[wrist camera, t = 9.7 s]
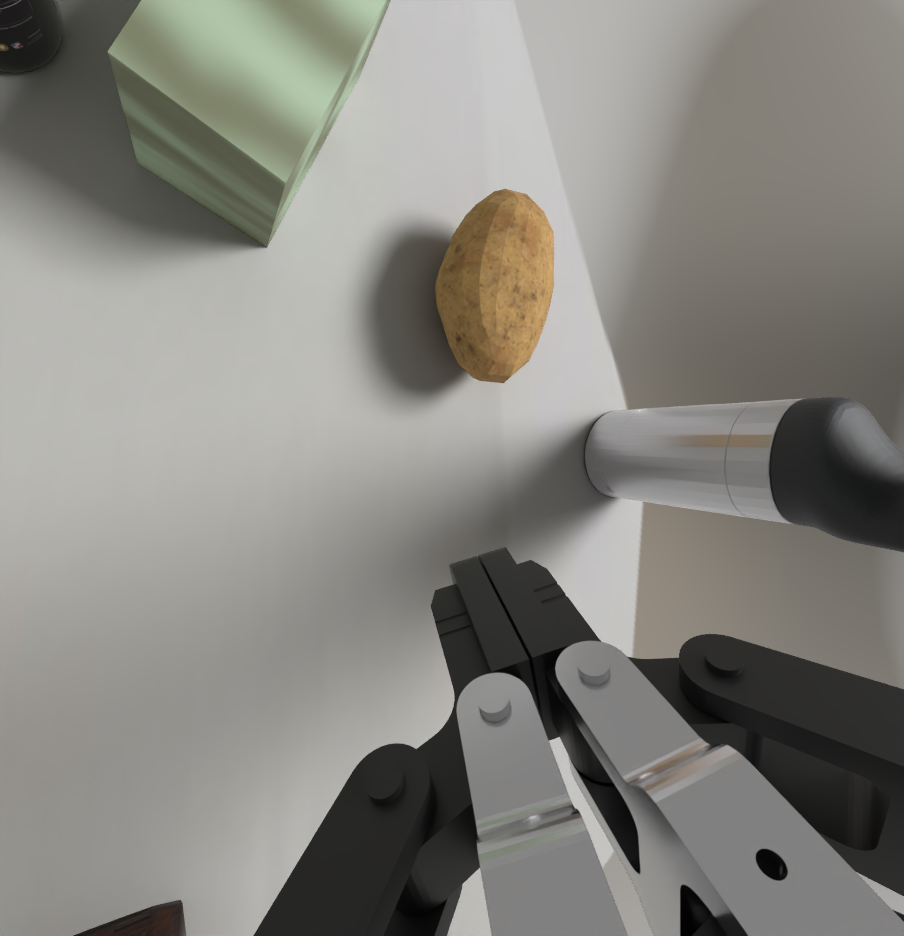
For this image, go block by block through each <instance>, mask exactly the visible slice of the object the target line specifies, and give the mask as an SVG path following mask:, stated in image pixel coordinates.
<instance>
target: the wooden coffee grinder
mask: <svg viewBox="0 0 904 936" xmlns="http://www.w3.org/2000/svg"><path fill="white" fill-rule="evenodd" d="M74 936H186V931H185V922H184V914H183V905H182V902H181V900H179V901H174V902H169V903H165V904H160V905H156V906H153V907H150V908H147V909H144V910H141V911H139V912H136V913H133V914H130V915H127V916H125V917H122V918H119V919H116V920H114V921H111V922H108V923H106V924H103V925H100V926H98V927H95V928H92V929H90V930H87V931H84V932H82V933H79V934H76V935H74Z"/></svg>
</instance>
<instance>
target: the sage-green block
mask: <svg viewBox="0 0 904 936" xmlns="http://www.w3.org/2000/svg"><path fill="white" fill-rule="evenodd" d="M390 1H391V0H141V1H140V3H139V4H138V6H137V7H136V9H135V10H134V12H133V14H132V15H131V17H130V18H129V20H128V21H127V23H126V24H125V26H124V27H123V29H122V30H121V32H120V33H119V35H118V36H117V38H116V39H115V41H114V42H113V44H112V46H111V47H110V49H109V50H108V56H109V60H110V63H111V67H112V71H113V74H114V78H115V82H116V85H117V89H118V93H119V96H120V100H121V104H122V108H123V111H124V115H125V119H126V122H127V126H128V130H129V133H130V137H131V141H132V144H133V148H134V152H135V155H136V159H137V163H138V164H140V165H141V166H143V167H144V168H146V169H147V170H149V171H150V172H152V173H153V174H155V175H157V176H158V177H160V178H161V179H163V180H164V181H166V182H167V183H169V184H170V185H172V186H173V187H175V188H176V189H178V190H179V191H181V192H183V193H184V194H186V195H187V196H189V197H190V198H192V199H193V200H195V201H196V202H198V203H199V204H201V205H202V206H204V207H205V208H207V209H209V210H210V211H212V212H213V213H215V214H216V215H218V216H219V217H221V218H222V219H224V220H225V221H227V222H228V223H230V224H232V225H233V226H235V227H236V228H238V229H239V230H241V231H242V232H244V233H245V234H247V235H248V236H250V237H251V238H253V239H254V240H256V241H258V242H259V243H261V244H262V245H264V246H265V247H268V245H269V243H270V241H271V239H272V237H273V235H274V234H275V232H276V230H277V228H278V226H279V224H280V223H281V221H282V219H283V217H284V215H285V213H286V211H287V210H288V208H289V206H290V204H291V202H292V200H293V199H294V197H295V195H296V193H297V191H298V189H299V187H300V186H301V184H302V182H303V180H304V178H305V176H306V175H307V173H308V171H309V169H310V167H311V165H312V163H313V162H314V160H315V158H316V156H317V154H318V152H319V151H320V149H321V147H322V145H323V143H324V141H325V139H326V138H327V136H328V134H329V132H330V130H331V128H332V127H333V125H334V123H335V121H336V119H337V117H338V115H339V114H340V112H341V110H342V108H343V106H344V104H345V103H346V101H347V99H348V97H349V95H350V93H351V92H352V90H353V88H354V86H355V84H356V82H357V80H358V79H359V77H360V74H361V72H362V69H363V67H364V64H365V62H366V59H367V57H368V55H369V52H370V50H371V47H372V45H373V42H374V40H375V37H376V35H377V33H378V30H379V28H380V25H381V23H382V20H383V18H384V15H385V13H386V11H387V8H388V6H389V3H390Z"/></svg>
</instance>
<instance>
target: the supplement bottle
mask: <svg viewBox="0 0 904 936" xmlns="http://www.w3.org/2000/svg"><path fill="white" fill-rule="evenodd" d="M61 36H62V21H61V15H60V11H59V8H58V4H57V1H56V0H0V71H1V72H24V71H29V70H33V69H36V68H38V67H40V66H42V65H44V64H45V63H46V62H48V61H49V60H50V59H51V58H52V57H53V56H54V54H55V53H56V51H57V49H58V47H59V45H60V42H61Z"/></svg>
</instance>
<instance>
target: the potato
mask: <svg viewBox="0 0 904 936" xmlns="http://www.w3.org/2000/svg"><path fill="white" fill-rule="evenodd" d="M553 270H554V236H553V230H552V228H551V226H550V224H549V222H548V220H547V218H546V216H545V213H544V211H543V210H542V209H541V208H540V207H539V206H538V205H537V204H536V203H535V202H534V201H533V200H532V199H531V198H530V197H529V196H528V195H527V194H523V193H519V192H515V191H511V190H507V189H503V190H499V191H495V192H493V193H492V194H490V195H489V196H488V197H486V198H485V199H483V200H482V201H481V202H479V203H478V204H477V205H475V206H474V208H473V209H472V210H471V211H470V212H469V213H468V214H467V215H466V216H465V218H464V219H463V221H462V222H461V224H460V225H459V227H458V228H457V230H456V231H455V233H454V235H453V237H452V240H451V242H450V245H449V247H448V249H447V252H446V254H445V257H444V259H443V262H442V264H441V267H440V270H439V273H438V277H437V280H436V284H435V294H436V306H437V309H438V312H439V315H440V318H441V321H442V324H443V327H444V330H445V334H446V337H447V340H448V344H449V346H450V348H451V350H452V352H453V354H454V356H455V358H456V360H457V362H458V364H459V365H460V366H461V367H462V368H463V369H464V370H465V371H467V372H468V373H469V374H470V375H471V376H472V377H473V378H475V379H477V380H479V381H488V382H498V383H504V382H505V381H506V380H508V379H509V378H510V377H511V376H512V375H513V374H514V373H516V372H517V371H518V370H519V369H520V368H521V367H522V366H524V365H525V364H526V363H527V362H528V361H529V359H530V357H531V355H532V353H533V351H534V349H535V347H536V345H537V343H538V341H539V338H540V335H541V332H542V330H543V327H544V324H545V321H546V317H547V314H548V310H549V307H550V302H551V297H552V292H553V287H554V274H553Z"/></svg>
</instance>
